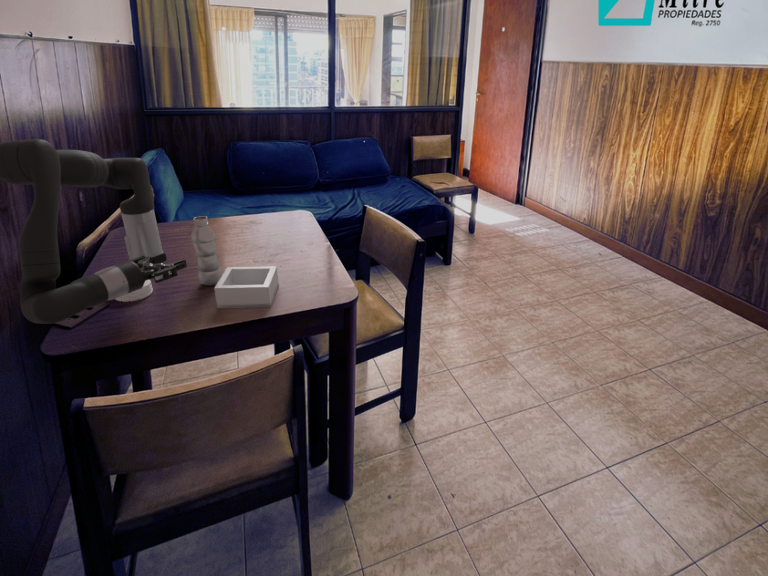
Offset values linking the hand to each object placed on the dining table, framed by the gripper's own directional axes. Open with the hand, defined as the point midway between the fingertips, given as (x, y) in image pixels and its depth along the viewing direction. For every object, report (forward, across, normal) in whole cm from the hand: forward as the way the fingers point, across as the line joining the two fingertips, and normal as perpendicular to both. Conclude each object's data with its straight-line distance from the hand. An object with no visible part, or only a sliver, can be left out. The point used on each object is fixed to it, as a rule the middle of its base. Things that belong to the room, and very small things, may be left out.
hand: (175, 259), depth 130 cm
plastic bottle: (+10, 0, +11) cm, 15 cm away
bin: (+10, -16, +11) cm, 22 cm away
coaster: (-6, +13, +11) cm, 18 cm away
